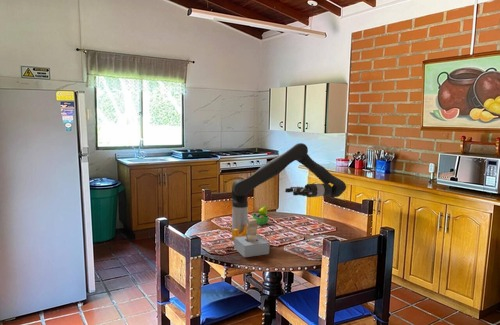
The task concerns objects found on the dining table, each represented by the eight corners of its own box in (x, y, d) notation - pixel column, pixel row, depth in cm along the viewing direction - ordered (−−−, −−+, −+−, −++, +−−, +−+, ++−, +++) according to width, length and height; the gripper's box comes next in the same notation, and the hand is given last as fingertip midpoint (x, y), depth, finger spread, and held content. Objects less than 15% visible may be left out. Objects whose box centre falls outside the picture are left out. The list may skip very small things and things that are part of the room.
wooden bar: (246, 248, 189) (246, 219, 187) (253, 247, 191) (254, 218, 189) (248, 250, 186) (249, 220, 185) (256, 249, 188) (256, 219, 186)
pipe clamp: (237, 242, 203) (237, 230, 202) (232, 240, 206) (232, 229, 205) (251, 237, 212) (251, 226, 211) (246, 235, 215) (246, 225, 214)
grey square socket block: (234, 248, 192) (234, 237, 192) (257, 245, 198) (258, 234, 197) (244, 257, 180) (244, 245, 179) (269, 253, 185) (269, 242, 185)
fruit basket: (251, 221, 246) (251, 205, 245) (262, 220, 250) (263, 204, 248) (258, 225, 236) (259, 208, 234) (270, 224, 239) (271, 207, 238)
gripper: (307, 181, 209) (283, 183, 203) (322, 185, 196) (296, 187, 190) (307, 194, 210) (282, 196, 203) (321, 199, 197) (295, 201, 190)
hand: (289, 191), depth 197 cm, fingers open, 8 cm apart
